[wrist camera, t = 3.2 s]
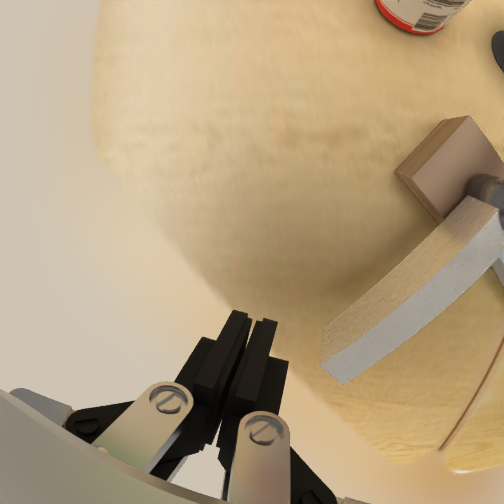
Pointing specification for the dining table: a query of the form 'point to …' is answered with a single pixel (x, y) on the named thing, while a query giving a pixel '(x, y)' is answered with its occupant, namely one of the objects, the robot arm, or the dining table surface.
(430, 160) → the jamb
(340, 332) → the bar
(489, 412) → the dining table surface
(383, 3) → the beer can
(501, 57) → the sundae
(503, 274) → the grey rectangular block
